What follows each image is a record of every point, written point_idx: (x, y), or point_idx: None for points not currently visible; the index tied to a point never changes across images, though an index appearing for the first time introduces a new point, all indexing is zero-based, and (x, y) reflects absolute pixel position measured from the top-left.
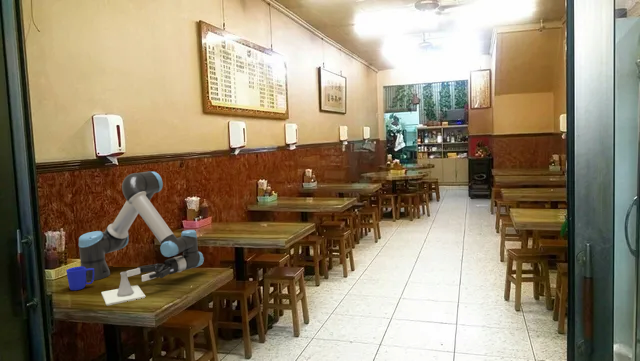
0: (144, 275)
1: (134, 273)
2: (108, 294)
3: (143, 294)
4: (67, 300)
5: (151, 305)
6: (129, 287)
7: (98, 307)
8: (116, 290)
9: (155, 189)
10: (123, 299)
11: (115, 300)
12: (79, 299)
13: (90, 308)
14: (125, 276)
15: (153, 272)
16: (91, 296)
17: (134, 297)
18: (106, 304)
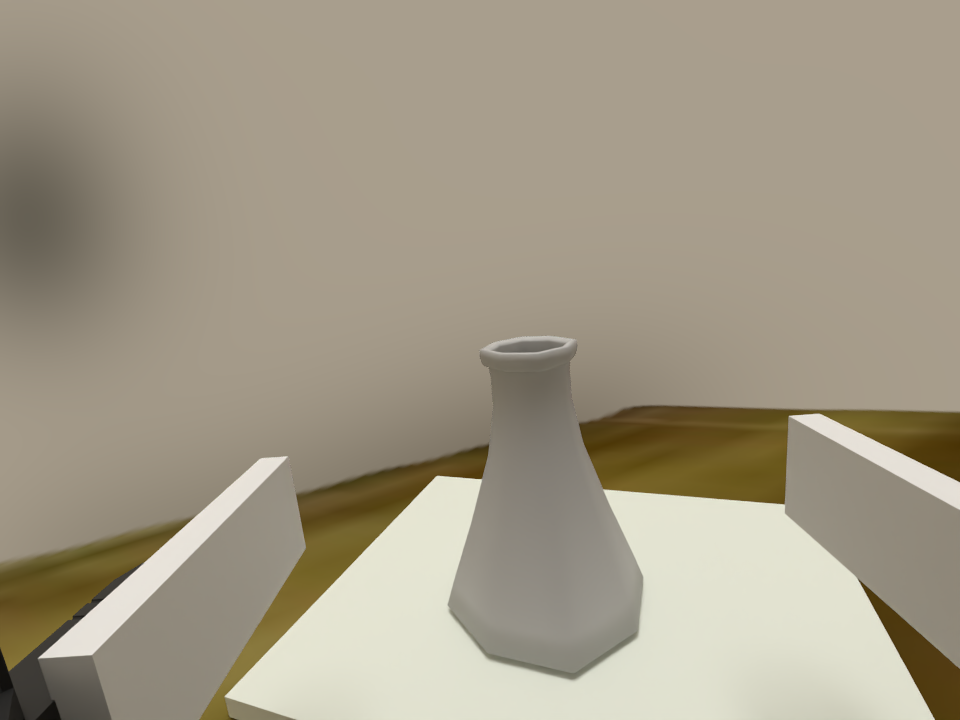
0: (242, 482)
1: (896, 571)
2: (673, 518)
3: (302, 708)
4: (762, 421)
5: (7, 646)
6: (478, 540)
7: (460, 466)
8: (788, 584)
9: None
10: (401, 543)
11: (446, 511)
12: (737, 445)
13: (487, 450)
14: (494, 391)
15: (103, 613)
16: (770, 480)
17: (337, 606)
18: (439, 479)
